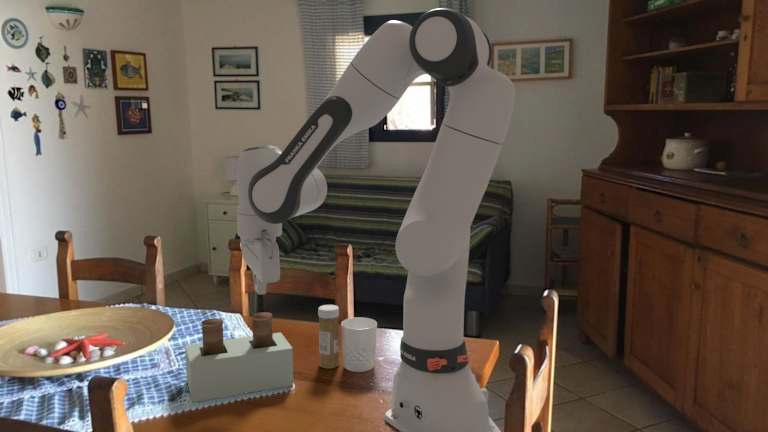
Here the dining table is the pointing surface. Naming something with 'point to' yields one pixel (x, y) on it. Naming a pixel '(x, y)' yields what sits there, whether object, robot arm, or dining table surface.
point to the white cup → (359, 343)
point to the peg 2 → (262, 330)
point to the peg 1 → (212, 336)
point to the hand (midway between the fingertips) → (260, 292)
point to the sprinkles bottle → (328, 336)
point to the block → (238, 368)
